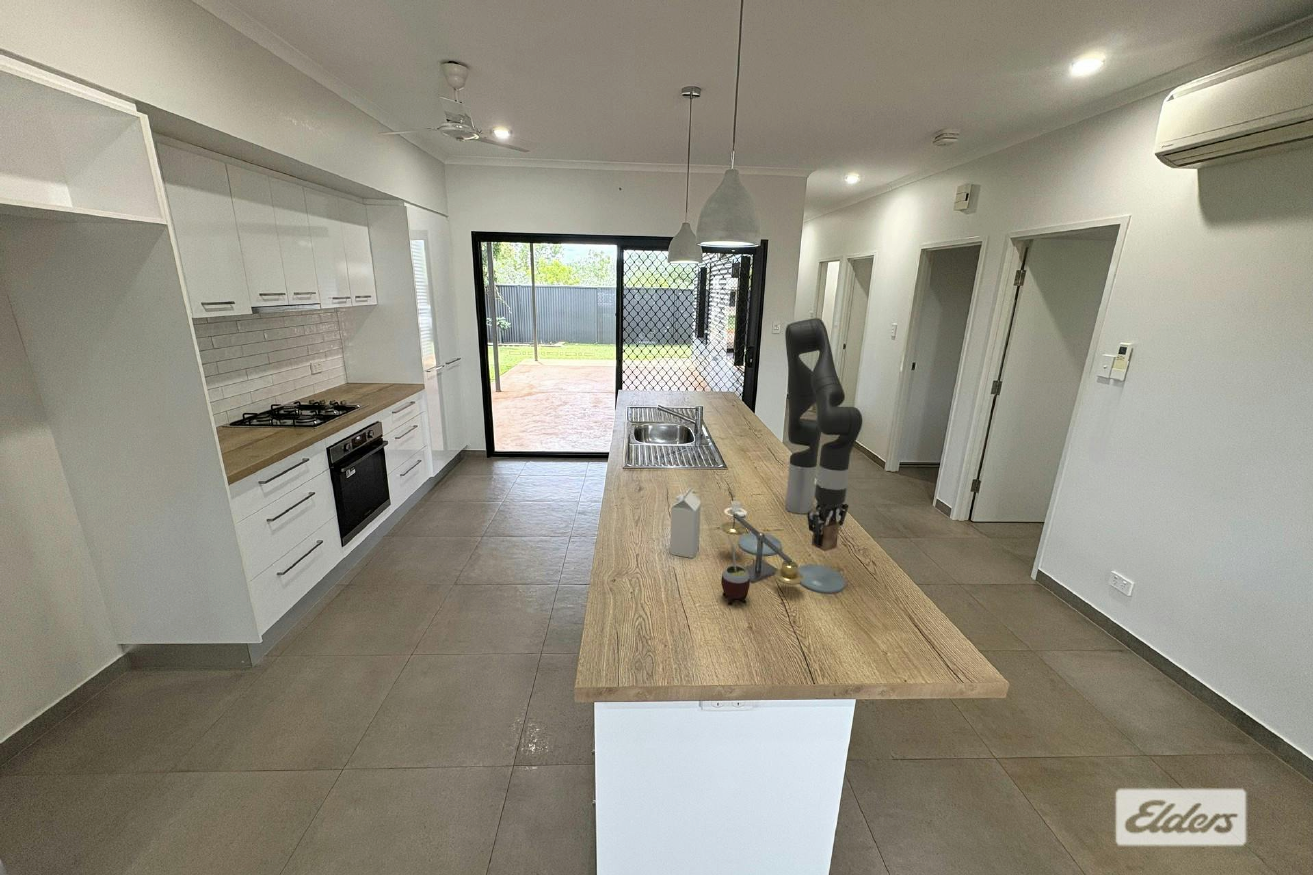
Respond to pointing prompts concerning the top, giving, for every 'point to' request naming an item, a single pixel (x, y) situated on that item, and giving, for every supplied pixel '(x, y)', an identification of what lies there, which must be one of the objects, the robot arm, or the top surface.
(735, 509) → the teacup and saucer
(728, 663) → the top surface
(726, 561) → the top surface
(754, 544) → the pale blue flat disc
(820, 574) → the dish
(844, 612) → the top surface
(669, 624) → the top surface
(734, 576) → the mate gourd
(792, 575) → the balance
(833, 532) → the walnut block
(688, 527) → the milk carton
